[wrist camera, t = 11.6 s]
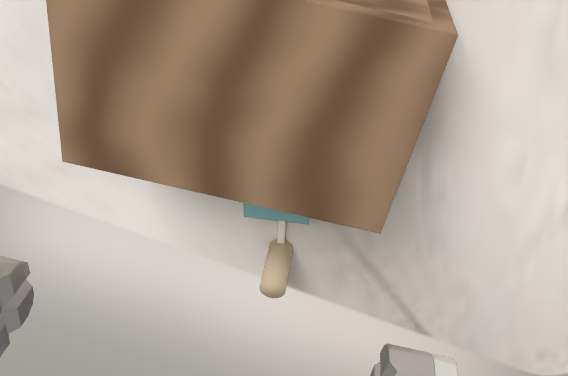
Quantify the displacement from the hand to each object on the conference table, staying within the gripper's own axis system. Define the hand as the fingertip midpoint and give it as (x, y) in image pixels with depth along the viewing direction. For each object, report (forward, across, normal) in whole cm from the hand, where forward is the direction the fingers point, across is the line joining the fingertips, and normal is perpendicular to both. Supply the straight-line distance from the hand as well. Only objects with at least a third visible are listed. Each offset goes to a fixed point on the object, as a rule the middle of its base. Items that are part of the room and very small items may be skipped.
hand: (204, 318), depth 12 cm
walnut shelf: (+31, +3, +6) cm, 32 cm away
